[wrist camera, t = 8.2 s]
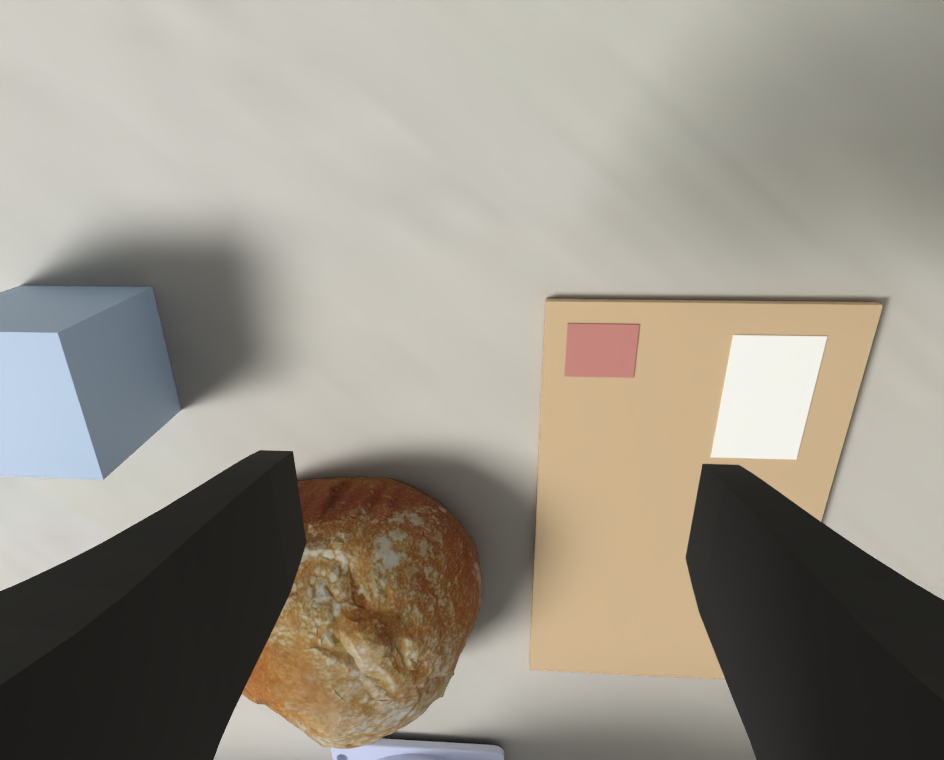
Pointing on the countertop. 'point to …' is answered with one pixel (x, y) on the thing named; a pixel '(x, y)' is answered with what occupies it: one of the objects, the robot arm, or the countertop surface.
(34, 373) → the blue cube
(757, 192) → the countertop surface
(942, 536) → the countertop surface
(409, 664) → the bread roll
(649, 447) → the envelope
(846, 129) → the countertop surface
